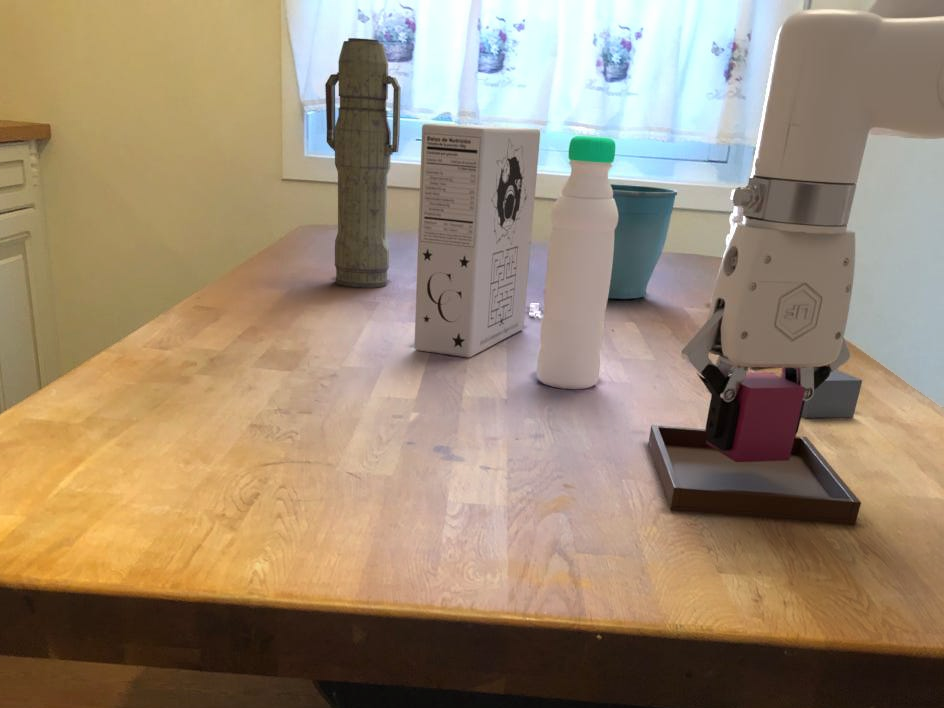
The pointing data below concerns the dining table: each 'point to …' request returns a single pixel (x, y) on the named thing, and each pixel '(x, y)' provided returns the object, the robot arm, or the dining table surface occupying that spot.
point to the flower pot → (638, 237)
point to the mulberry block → (765, 418)
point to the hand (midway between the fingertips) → (749, 442)
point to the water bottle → (579, 268)
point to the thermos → (362, 160)
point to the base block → (834, 397)
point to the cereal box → (473, 235)
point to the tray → (749, 481)
